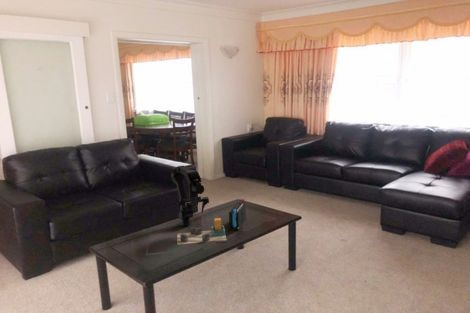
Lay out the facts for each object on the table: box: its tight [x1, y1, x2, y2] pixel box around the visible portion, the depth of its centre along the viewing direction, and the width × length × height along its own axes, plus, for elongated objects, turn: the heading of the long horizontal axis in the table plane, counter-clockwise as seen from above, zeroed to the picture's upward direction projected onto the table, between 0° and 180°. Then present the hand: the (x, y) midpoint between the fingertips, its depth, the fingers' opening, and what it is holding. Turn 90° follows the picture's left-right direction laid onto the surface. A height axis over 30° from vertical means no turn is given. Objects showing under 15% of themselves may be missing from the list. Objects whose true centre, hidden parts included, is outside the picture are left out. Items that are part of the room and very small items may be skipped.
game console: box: [228, 198, 247, 231], centre depth 250 cm, size 28×6×15 cm, turn 165°
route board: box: [176, 224, 228, 245], centre depth 230 cm, size 17×30×5 cm, turn 98°
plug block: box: [214, 217, 222, 230], centre depth 234 cm, size 4×4×9 cm
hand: (194, 213), depth 237 cm, fingers open, 9 cm apart
